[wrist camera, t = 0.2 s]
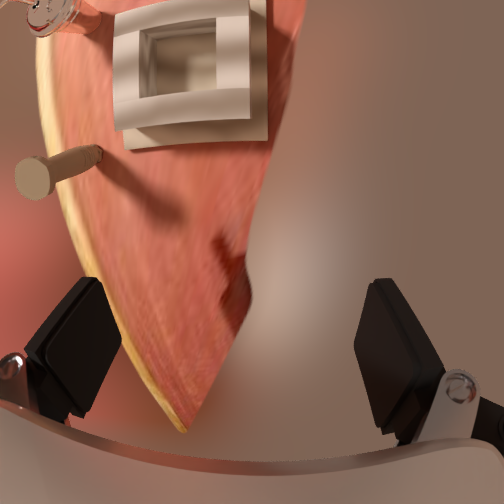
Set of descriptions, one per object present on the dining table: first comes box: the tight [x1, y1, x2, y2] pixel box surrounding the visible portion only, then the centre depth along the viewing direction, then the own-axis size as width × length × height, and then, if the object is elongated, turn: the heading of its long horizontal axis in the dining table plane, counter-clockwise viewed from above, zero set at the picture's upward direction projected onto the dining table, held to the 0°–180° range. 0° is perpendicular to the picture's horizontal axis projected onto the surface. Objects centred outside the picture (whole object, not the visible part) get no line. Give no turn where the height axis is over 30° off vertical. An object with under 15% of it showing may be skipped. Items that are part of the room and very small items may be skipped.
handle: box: [15, 144, 103, 200], centre depth 30 cm, size 5×6×15 cm
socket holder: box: [113, 0, 268, 150], centre depth 27 cm, size 22×20×7 cm
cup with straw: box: [0, 0, 102, 38], centre depth 17 cm, size 8×9×20 cm
